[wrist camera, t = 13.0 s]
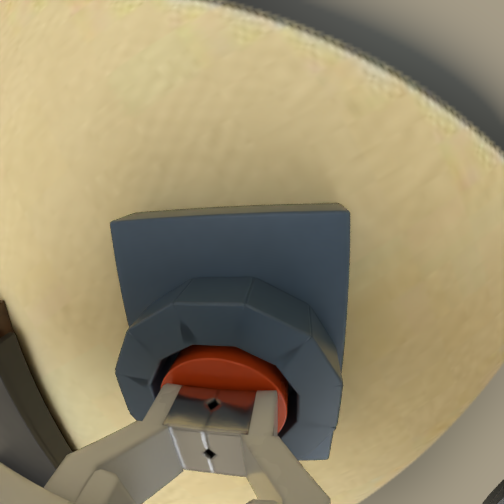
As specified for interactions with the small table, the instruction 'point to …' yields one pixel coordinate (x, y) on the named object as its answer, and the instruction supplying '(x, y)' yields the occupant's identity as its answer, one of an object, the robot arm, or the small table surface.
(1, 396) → the lid
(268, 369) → the button
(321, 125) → the small table surface
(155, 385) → the button block
